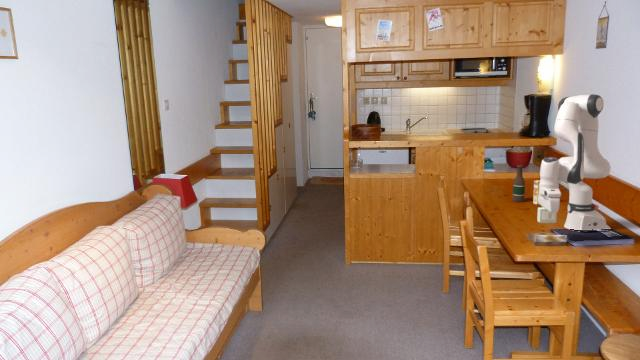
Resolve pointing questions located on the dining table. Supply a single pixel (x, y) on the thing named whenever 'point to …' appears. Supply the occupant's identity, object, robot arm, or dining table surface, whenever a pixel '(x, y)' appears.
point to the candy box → (536, 191)
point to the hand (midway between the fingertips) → (547, 216)
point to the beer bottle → (519, 186)
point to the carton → (545, 216)
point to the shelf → (547, 239)
